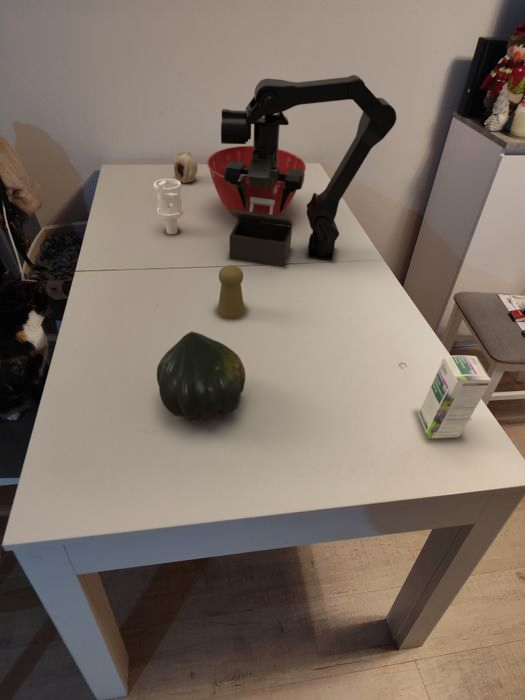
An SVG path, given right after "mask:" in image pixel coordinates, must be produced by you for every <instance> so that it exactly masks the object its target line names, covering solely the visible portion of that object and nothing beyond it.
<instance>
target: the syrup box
mask: <svg viewBox="0 0 525 700" xmlns="http://www.w3.org/2000/svg"><path fill="white" fill-rule="evenodd" d="M491 382H492V379H491V377H490V376H489V374H488V373H487V371H486V370H485V368H484V366H483V364H482V363H481V361H480V359H479V358H478V356H477V355H463V354H462V355H461V354H460V355H446V356H444V357H443V358H442V360H441V363H440V364H439V367H438V369H437V371H436V374H435V376H434V378H433V380H432V382H431V384H430V386H429V389H428V391H427V393H426V396H425V397H424V400H423V402H422V404H421V407H420V409H419V411H418V414H417V415H418V417H419V419H420V422H421V425H422V427H423V429H424V431H425V434H426V437H427V438H428V439H449V438H459V437H460V436H461V434H462V432H463V431H464V429H465V427H466V425H467V424H468V423H469V420H470V418H471V417H472V416H473V413H474V412H475V410H476V408H477V406H478V405H479V403H480V402H481V399H482V398H483V396H484V394H485V393H486V391H487V389H488V388H489V386H490V384H491Z"/></svg>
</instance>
